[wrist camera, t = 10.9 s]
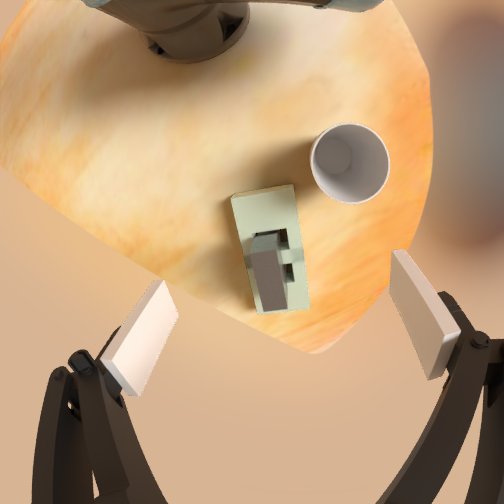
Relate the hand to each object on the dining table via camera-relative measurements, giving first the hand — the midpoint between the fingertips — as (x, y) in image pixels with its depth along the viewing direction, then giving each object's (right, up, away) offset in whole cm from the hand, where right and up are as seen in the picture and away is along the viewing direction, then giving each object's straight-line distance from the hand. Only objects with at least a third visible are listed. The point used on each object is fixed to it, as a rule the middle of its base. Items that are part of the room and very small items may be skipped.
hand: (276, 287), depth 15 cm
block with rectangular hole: (+2, +2, +24) cm, 25 cm away
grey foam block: (+2, +2, +24) cm, 25 cm away
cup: (+9, +15, +18) cm, 25 cm away
